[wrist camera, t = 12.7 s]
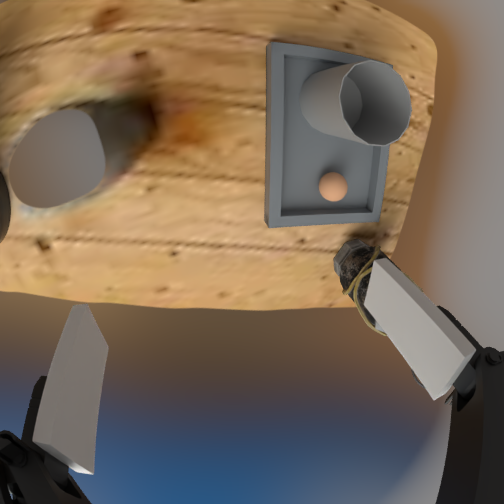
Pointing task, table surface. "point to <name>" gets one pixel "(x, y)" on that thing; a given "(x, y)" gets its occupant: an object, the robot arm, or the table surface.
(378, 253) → the lantern
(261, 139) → the table surface
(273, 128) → the tray
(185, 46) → the table surface
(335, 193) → the ball
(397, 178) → the table surface
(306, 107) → the cup
